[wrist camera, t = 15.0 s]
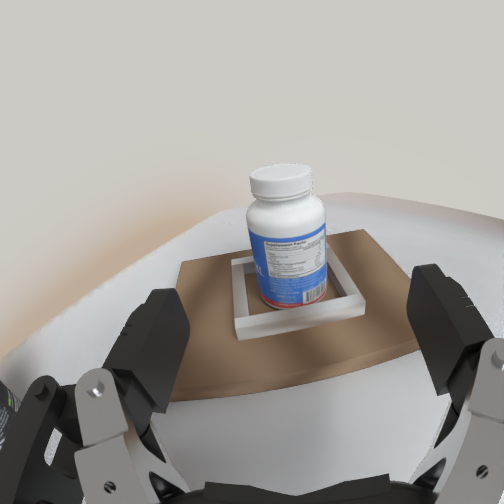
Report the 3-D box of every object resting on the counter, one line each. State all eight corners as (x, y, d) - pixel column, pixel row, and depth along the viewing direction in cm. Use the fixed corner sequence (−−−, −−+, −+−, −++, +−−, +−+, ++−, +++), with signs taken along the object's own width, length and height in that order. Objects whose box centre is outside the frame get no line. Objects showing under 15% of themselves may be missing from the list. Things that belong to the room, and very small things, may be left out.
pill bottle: (264, 273, 25) (246, 164, 21) (325, 270, 24) (318, 158, 20) (255, 315, 21) (230, 186, 16) (329, 312, 20) (325, 177, 15)
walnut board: (363, 241, 30) (363, 219, 29) (443, 339, 16) (453, 312, 15) (185, 273, 30) (178, 252, 29) (165, 401, 16) (148, 378, 15)
